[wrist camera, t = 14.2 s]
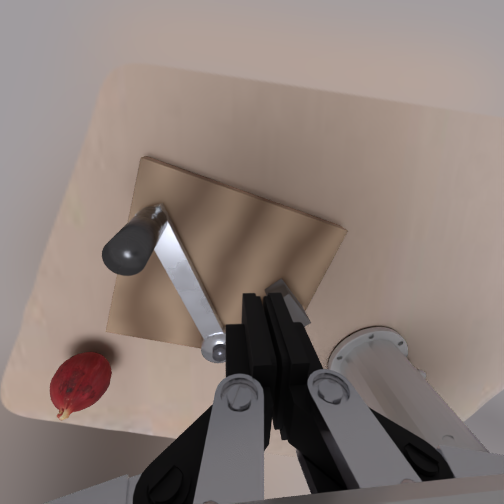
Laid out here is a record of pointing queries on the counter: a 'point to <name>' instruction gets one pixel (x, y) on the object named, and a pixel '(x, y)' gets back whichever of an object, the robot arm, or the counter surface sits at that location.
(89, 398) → the onion
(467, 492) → the robot arm
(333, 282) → the counter surface
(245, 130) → the counter surface
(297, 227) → the board
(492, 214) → the counter surface
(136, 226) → the lever
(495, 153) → the counter surface
